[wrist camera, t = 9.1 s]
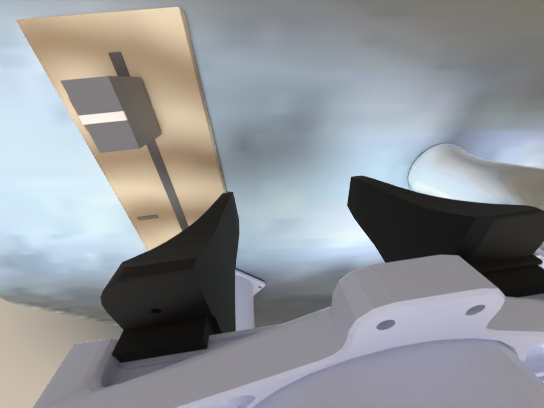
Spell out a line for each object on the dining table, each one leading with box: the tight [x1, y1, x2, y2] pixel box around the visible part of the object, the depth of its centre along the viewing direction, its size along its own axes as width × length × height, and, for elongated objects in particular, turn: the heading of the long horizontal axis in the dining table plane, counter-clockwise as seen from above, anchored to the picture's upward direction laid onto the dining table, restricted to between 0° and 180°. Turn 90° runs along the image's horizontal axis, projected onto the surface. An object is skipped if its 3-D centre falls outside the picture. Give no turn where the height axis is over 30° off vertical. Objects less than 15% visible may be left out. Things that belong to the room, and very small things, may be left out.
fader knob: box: [61, 76, 162, 153], centre depth 14 cm, size 4×2×4 cm, turn 5°
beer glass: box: [408, 143, 544, 269], centre depth 17 cm, size 7×7×15 cm
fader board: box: [16, 7, 227, 251], centre depth 19 cm, size 20×10×2 cm, turn 5°
